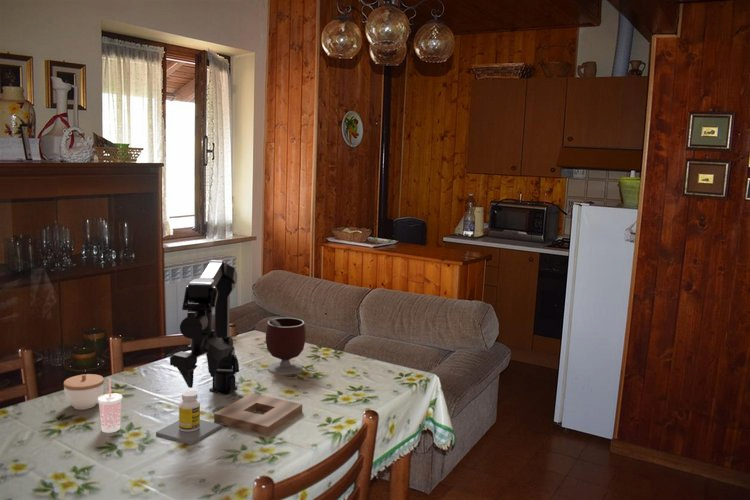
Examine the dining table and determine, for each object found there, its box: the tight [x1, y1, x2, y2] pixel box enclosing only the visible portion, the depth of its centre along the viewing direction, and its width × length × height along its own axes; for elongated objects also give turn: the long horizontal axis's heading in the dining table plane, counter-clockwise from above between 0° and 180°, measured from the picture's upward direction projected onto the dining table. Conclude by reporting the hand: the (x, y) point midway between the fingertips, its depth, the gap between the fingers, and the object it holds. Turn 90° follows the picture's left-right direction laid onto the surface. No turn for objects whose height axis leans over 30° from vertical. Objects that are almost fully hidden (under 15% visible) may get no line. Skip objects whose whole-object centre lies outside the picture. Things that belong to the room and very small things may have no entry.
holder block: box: [213, 392, 303, 436], centre depth 180 cm, size 18×18×2 cm
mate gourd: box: [265, 317, 306, 376], centre depth 220 cm, size 16×14×20 cm
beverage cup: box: [97, 378, 123, 434], centre depth 168 cm, size 6×6×14 cm
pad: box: [155, 419, 222, 446], centre depth 170 cm, size 12×12×1 cm
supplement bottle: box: [178, 390, 201, 432], centre depth 169 cm, size 5×5×10 cm
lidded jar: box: [63, 373, 105, 410], centre depth 183 cm, size 11×11×9 cm
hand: (201, 382), depth 172 cm, fingers open, 9 cm apart
